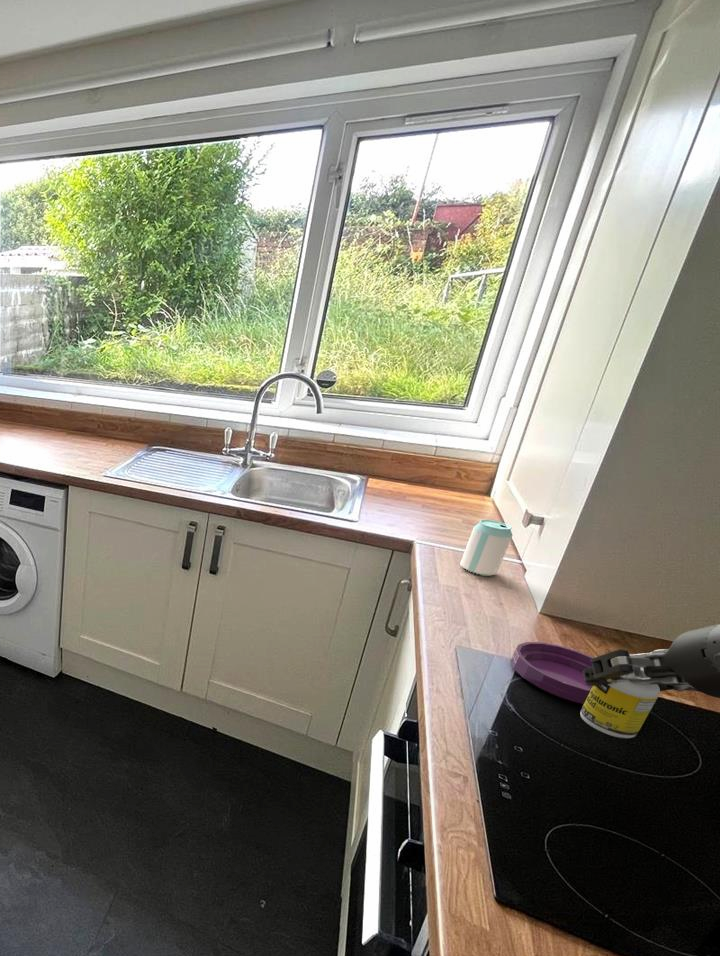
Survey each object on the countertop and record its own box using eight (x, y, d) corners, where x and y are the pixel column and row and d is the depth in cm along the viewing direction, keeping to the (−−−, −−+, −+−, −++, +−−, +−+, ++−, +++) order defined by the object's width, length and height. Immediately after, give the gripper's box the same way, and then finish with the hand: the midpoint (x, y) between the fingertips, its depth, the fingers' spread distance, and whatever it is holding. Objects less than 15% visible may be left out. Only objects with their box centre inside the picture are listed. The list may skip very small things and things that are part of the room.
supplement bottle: (567, 712, 78) (597, 651, 74) (602, 710, 79) (634, 649, 75) (610, 741, 73) (645, 677, 69) (648, 738, 74) (684, 675, 70)
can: (469, 562, 142) (486, 516, 138) (502, 574, 136) (521, 527, 132) (453, 567, 139) (470, 520, 135) (486, 579, 133) (505, 532, 129)
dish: (640, 698, 95) (649, 682, 94) (589, 718, 90) (598, 702, 89) (540, 650, 107) (547, 635, 106) (490, 665, 102) (497, 650, 101)
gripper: (823, 629, 60) (669, 659, 76) (662, 613, 63) (545, 645, 78) (852, 703, 57) (687, 719, 73) (682, 684, 60) (557, 702, 75)
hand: (614, 680), depth 75 cm, fingers closed on supplement bottle, 5 cm apart
